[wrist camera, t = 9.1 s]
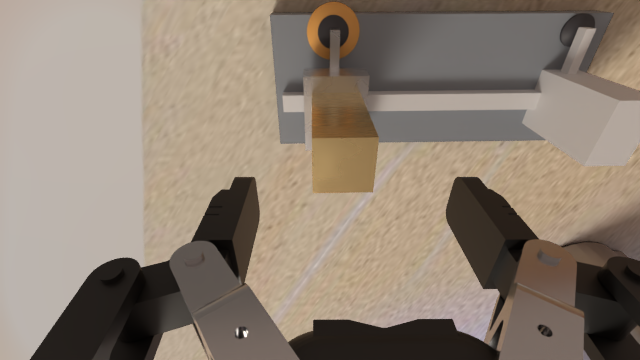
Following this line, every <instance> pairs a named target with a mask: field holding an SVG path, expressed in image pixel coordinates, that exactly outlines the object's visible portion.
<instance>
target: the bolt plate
mask: <svg viewBox="0 0 640 360" xmlns="http://www.w3.org/2000/svg"><path fill="white" fill-rule="evenodd" d="M613 14H614V13H611V12H602V11H474V12H353V11H352V10H351V9H350V8H349V7H348V6H346V5H345V4H342V3H339V2H328V3H325V4H323V5H321V6H319V7H318V8H317V9H316V10H315V11H314V12H304V13H272V14H271V15H270V21H271V33H272V46H273V58H274V70H275V82H276V94H277V106H278V118H279V130H280V143H281V144H291V143H305V117H304V86H303V73H304V68H329V61H330V29H340V56H339V68H365V69H366V71H367V72H368V74H369V76H370V78H369V90H368V101H367V110H368V112H369V115H370V117H371V119H372V122H373V124H374V127H375V129H376V131H377V134H378V136H379V142H446V141H524V140H547V141H548V142H550V143H551V144H553V145H554V146H556V147H557V148H558V149H560V150H561V151H563V152H564V153H566V154H567V155H569V156H570V157H571V158H573V159H574V160H576V161H577V162H579V163H580V164H581V165H583V166H625V165H626V163H627V162H628V160H629V159H630V157H631V155H632V154H633V152H634V151H635V149H636V147H637V146H638V144H639V143H640V91H638V90H635V89H632V88H630V87H627V86H624V85H621V84H618V83H615V82H612V81H609V80H606V79H604V78H601V77H598V76H595V75H592V74H589V73H586V72H587V70H588V68H589V66H590V64H591V61H592V59H593V57H594V55H595V53H596V51H597V48H598V46H599V44H600V42H601V40H602V38H603V35H604V33H605V31H606V29H607V27H608V25H609V23H610V20H611V18H612V16H613Z"/></svg>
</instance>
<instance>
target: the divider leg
mask: <svg viewBox="0 0 640 360" xmlns="http://www.w3.org/2000/svg"><path fill="white" fill-rule="evenodd" d="M339 56H340V29H330V61H329V68H304V73H303V86H304V117H305V147H306V151H307V150H312V176H313V193H348V192H373V187H374V178H375V169H376V160H377V151H378V142H379V136H378V134H377V131H376V129H375V127H374V124H373V122H372V119H371V117H370V115H369V112H368V110H367V101H368V90H369V78H370V76H369V74H368V72H367V71H366V69H365V68H339Z"/></svg>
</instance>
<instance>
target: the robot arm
mask: <svg viewBox="0 0 640 360" xmlns="http://www.w3.org/2000/svg"><path fill="white" fill-rule="evenodd" d="M259 216H260V211H259V202H258V195H257V187H256V181H255V178H254V177H235V178H234V180H233V183H232V185H231V188H230V190H221V191H220V192H218V193H217V194H216V195H215V196H214V197H213V198H212V200H211V202H210V204H209V206H208V208H207V210H206V212H205V216H203V218H202V221H201V223H200V225H199V227H198V229H197V231H196V233H195V235H194V237H193V239H192V241H191V242H190V243H188V244H185V245H183V246H182V247H180V248H179V249H177V250H176V251H175V252H174V253H173V255H172V256H171V258H170V260H168V261H166V262H162V263H158V264H154V265H150V266H146V267H142V268H141V267H140V265H139V263H138V262H137V261H136V260H135V259H132V258H119V259H114V260H111V261H109V262H106V263H104V264H102V265H101V266H99V267H98V268H96V269H95V270H94V271H93V272H92V273H91V274H90V275H89V276H88V277H87V279H86V280H85V282H84V283H83V285H82V286H81V287H80V289H79V290H78V292H77V293H76V295H75V296H74V297H73V299H72V300H71V302H70V303H69V305H68V306H67V307H66V309H65V310H64V312H63V313H62V315H61V316H60V317H59V319H58V320H57V322H56V323H55V325H54V326H53V327H52V329H51V330H50V332H49V333H48V335H47V336H46V338H45V339H44V340H43V342H42V343H41V345H40V346H39V347H38V349H37V350H36V352H35V353H34V355H33V356H32V357H31V359H30V360H153V359H154V356H155V354H156V351H157V348H158V346H159V343H160V340H161V338H162V335H163V333H164V332H167V331H170V330H173V329H177V328H180V327H183V326H186V325H190V324H192V325H193V327H194V329H195V331H196V334H197V336H198V338H199V340H200V343H201V345H202V347H203V349H204V351H205V354H206V356H207V358H208V360H640V261H637V260H634V259H631V258H628V257H627V256H626V255H625V254H624V253H623V252H621V251H612V250H611V249H610V248H609V247H607V246H605V245H603V244H600V243H594V242H584V243H578V244H573V245H569V246H566V247H563V248H562V247H561V246H559V245H557V244H554V243H552V242H549V241H545V240H540V239H539V238H538V237H537V236H536V235H535V234H534V233H533V231H532V230H531V229H530V228H529V227H528V226H527V224H526V223H525V222H524V221H523V220H522V219H521V217H520V216H519V215H517V213H516V212H515V210H514V209H513V208H511V206H510V205H509V203H508V202H507V201H506V200H505V199H504V198H503V197H502V196H501V195H499V194H498V193H496V192H494V191H493V190H491V189H488V188H487V187H486V186H485V185H484V184H483V182H482V181H481V180H480V179H479V178H478V177H457V178H456V179H455V180H454V183H453V186H452V190H451V193H450V197H449V200H448V204H447V208H446V219H447V222H448V224H449V226H450V228H451V230H452V232H453V233H454V235H455V237H456V239H457V241H458V243H459V245H460V246H461V248H462V250H463V252H464V254H465V256H466V258H467V259H468V261H469V263H470V265H471V267H472V269H473V271H474V272H475V274H476V276H477V278H478V280H479V282H480V284H481V285H482V287H483V289H498V291H499V293H500V294H499V296H498V298H497V300H496V304H495V307H494V310H493V313H492V317H491V320H490V323H489V326H488V330H487V333H486V336H485V339H484V342H483V341H481V340H479V339H477V338H475V337H473V336H471V335H468V334H466V333H463V332H460V331H457V330H456V327H455V325H454V322H453V320H452V319H417V320H414V321H410V322H406V323H403V324H399V325H395V326H392V327H388V328H381V327H376V326H372V325H368V324H364V323H360V322H355V321H351V320H313V331H311V332H307V333H304V334H302V335H300V336H297V337H296V338H294V339H292V340H290V341H289V342H287V341H286V339H285V338H284V336H283V335H282V333H281V332H280V330H279V329H278V328H277V326H276V325H275V323H274V322H273V320H272V319H271V317H270V316H269V315H268V313H267V312H266V310H265V309H264V307H263V306H262V304H261V303H260V302H259V300H258V299H257V297H256V296H255V294H254V293H253V291H252V290H251V289H250V287H249V286H248V285H247V284H246V283H244V282H245V278H246V274H247V270H248V265H249V261H250V257H251V253H252V249H253V245H254V241H255V236H256V232H257V228H258V224H259Z"/></svg>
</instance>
